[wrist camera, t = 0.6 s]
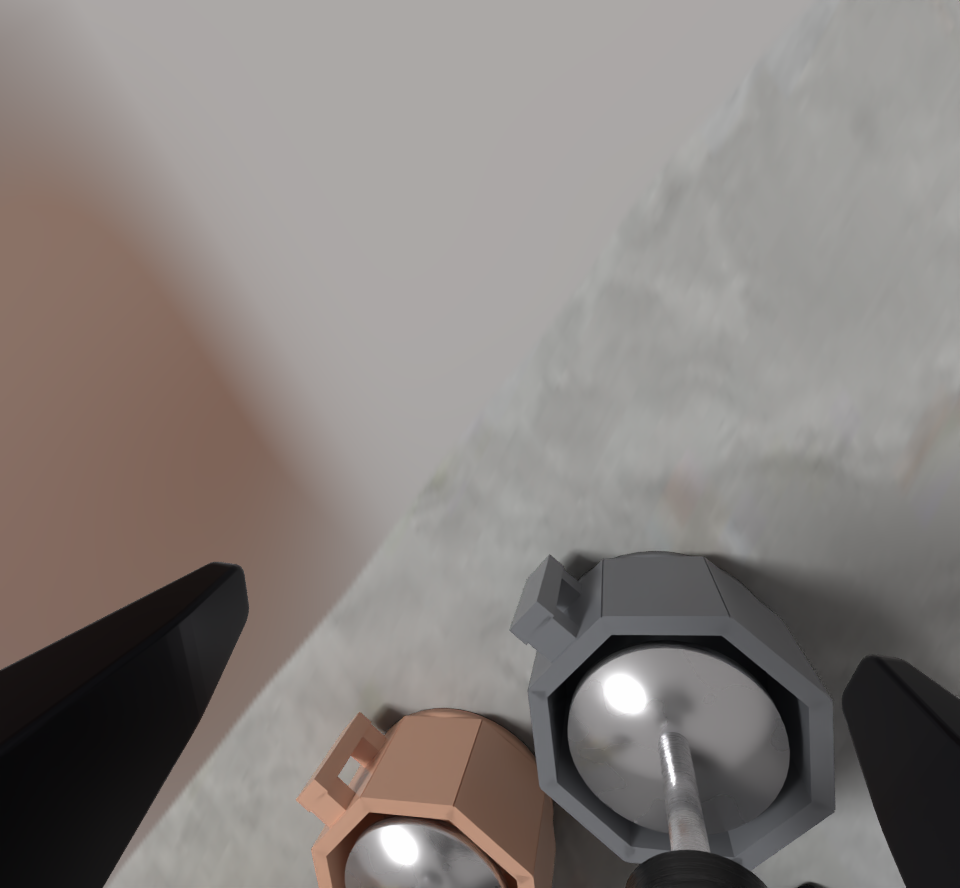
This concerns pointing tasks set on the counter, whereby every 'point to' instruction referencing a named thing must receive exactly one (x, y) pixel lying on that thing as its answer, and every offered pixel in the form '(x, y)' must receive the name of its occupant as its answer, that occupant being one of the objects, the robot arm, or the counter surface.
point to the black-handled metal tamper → (419, 857)
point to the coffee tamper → (679, 753)
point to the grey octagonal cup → (680, 617)
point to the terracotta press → (435, 791)
